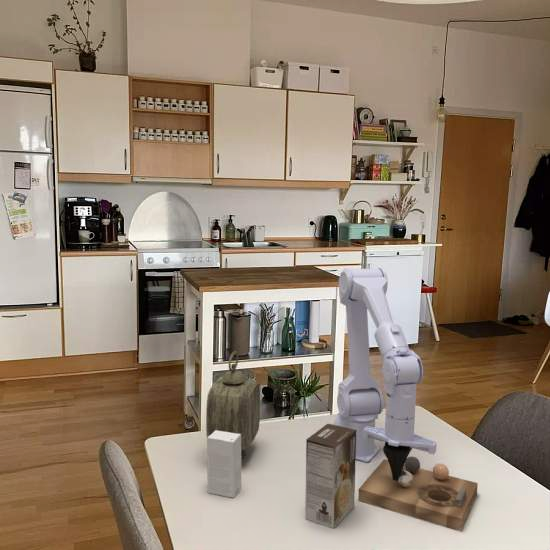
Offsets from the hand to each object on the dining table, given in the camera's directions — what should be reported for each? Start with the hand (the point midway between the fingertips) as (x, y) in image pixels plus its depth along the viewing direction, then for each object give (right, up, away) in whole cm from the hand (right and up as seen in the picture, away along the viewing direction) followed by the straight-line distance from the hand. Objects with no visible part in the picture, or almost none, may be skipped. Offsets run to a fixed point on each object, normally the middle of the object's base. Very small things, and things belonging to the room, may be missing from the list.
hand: (397, 478), depth 114 cm
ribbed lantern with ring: (-34, -1, +17) cm, 38 cm away
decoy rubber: (+4, +1, +5) cm, 7 cm away
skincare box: (-35, -3, +2) cm, 35 cm away
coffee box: (-14, -5, -6) cm, 16 cm away
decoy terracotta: (+10, +1, +2) cm, 10 cm away
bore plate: (+4, -4, 0) cm, 6 cm away
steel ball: (+1, 0, -1) cm, 2 cm away
